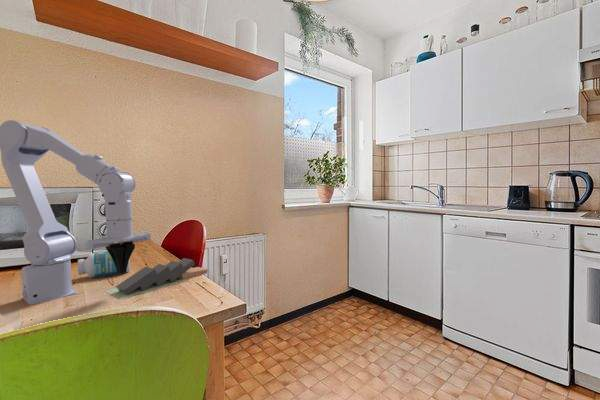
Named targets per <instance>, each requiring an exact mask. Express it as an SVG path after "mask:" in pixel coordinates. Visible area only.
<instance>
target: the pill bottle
mask: <svg viewBox="0 0 600 400" xmlns="http://www.w3.org/2000/svg"><path fill="white" fill-rule="evenodd" d="M130 260H131V259H129V262H128V265H127V270H126V273H129V272H130V271H131V262H130ZM126 273H125V274H126ZM77 274H78V275H79V276H80V275H85V274H87V276H88V277H89V278H97V277H98V278H99V277H105V276H112V275H120V273H117V270H116V266H115V264H114V261H113V259H112V257H111V255H110V254H109V252H108V251H102V252H93V253H90V254H88V255H87V258H80V259H77Z"/></svg>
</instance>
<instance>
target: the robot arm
mask: <svg viewBox="0 0 600 400" xmlns="http://www.w3.org/2000/svg"><path fill="white" fill-rule="evenodd" d="M49 152H52V153H54V154H56V155H57V156H59V157H60V158H63V159H65V160H66V161H67V162H70V163H71V164H74V165H75V170H76V172H77V173H78V174H79V175H82V176H83V177H85V178H86V179H88V181H89V180H90V181H91V182H92V183H94V184H96V185H97V186H98V188H99V191H101V193H102V194H103V200H104V203H105V205H104V207H105V209H104V210H105V227H106V228H105V229H106V230H105V231H106V232H105V233H106V237H102V238H94V239H89V240H85V241H84V242H85V244H84V245H85V250H94V249H98V248H99V249H100V248H105V250H106V252H109V254H110V255H111V257H112V259H113V261H114V264H115V266H116V270H117V273H120V274H126V270H127V265H128V262H129V260H131V259H130V258H131V256H132V254H133V252H134V250H135V248H136V244H135V243H138V242H139V243H140V242H149V241H152V239H151V237H152V236H151V233H149V232H141V233H134V232H133V231H134V229H133V205H132V204H133V203H132V202H133V201H132V200H133V199H132V193H133V191H134V190H135V188H136V180H135V178H134V177H133V175H132V174H130V172H125V171H121V172H120V171H119V167H117V166H114V165H111V164H109V163H108V162H106V161H104V160H103V159H104V157H103V156H101V155H100V154H94V153H88V154H85V153H84V152H82V151H81V150H79V148H76V147H75V146H73V145H72V144H71V143H69V142H68V141H67V140H65V139H64V138H62V137H61V136H60V135H59V134H58V133H57V132H54V131H52V130H50V129H49V128H47V127H41V126H36V125H31V124H27V123H23V122H19V121H17V120H12V119H11V120H10V119H9V120H5V121H3V122H2V123H1V124H0V159H1V160H0V161H1V164H2V167H3V169H4V171H5V175H6V176H7V179H8V181H9V183H10V186H11V189H12V191H13V194H14V196H15V199H16V200H17V203H18V204H19V208H20V210H21V212H22V215H23V217H24V220H25V223H26V224H27V226H28V230H27V232H26V233H24V235H23V236H22V237H21V240H22V242H23V246H24V247H23V254H24V257H25V258H26V260H27V261H28V262H29V263H31V264H30V265H26V266H23V267H22V268H21V288H22V300H24V302H26V303H27V304H28V305H29V306H33V305H36V304H41V303H44V302H49V301H53V300H57V299H60V298H61V299H62V298H66V297H69V296H72V295H77V294H78V293H79V292H78V291H77V290H75V289H73V283H72V268H71V267H72V266H71V259H73V254H74V253H75V252H76V250H77V249H78V242H77V240H76V238H75V236H74V235H72V234H71V233H70V231H69V229H68V227H67V226H65V225H64V224H62V223H60V222H58V221H57V219H56V217H55V213H54V212H53V210H52V206H51V205H50V202H49V200H48V197H47V196H46V193H45V191H44V187H43V185H42V183H41V181H40V178H39V175H38V173H37V171H36V169H35V167H34V165H35V163H36V162H38V161H39V160H41V158H43V157H44V156H45V155H46V154H47V153H49ZM120 274H119V275H120Z"/></svg>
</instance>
